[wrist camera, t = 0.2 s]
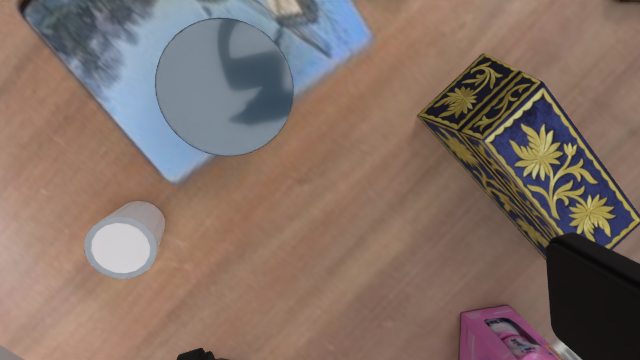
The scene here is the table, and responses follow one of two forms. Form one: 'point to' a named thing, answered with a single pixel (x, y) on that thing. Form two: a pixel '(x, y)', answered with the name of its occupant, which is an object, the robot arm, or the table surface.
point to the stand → (224, 87)
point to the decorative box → (528, 156)
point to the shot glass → (126, 240)
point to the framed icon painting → (630, 0)
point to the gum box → (501, 337)
